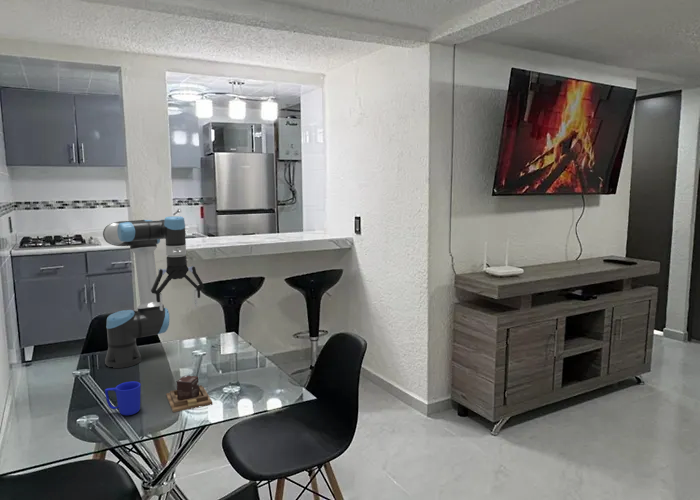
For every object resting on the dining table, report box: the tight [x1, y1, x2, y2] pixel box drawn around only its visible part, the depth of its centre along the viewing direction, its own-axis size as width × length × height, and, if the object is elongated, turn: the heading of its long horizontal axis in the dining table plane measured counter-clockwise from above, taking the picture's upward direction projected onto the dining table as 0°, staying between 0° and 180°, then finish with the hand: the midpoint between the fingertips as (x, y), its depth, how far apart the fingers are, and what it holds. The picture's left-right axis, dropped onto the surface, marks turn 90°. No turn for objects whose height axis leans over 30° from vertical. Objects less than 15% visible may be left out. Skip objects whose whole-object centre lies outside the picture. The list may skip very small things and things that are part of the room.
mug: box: [104, 380, 142, 416], centre depth 184 cm, size 8×12×10 cm
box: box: [176, 375, 200, 400], centre depth 195 cm, size 6×6×7 cm
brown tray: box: [165, 385, 213, 413], centre depth 195 cm, size 16×14×2 cm
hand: (179, 308), depth 207 cm, fingers open, 13 cm apart
